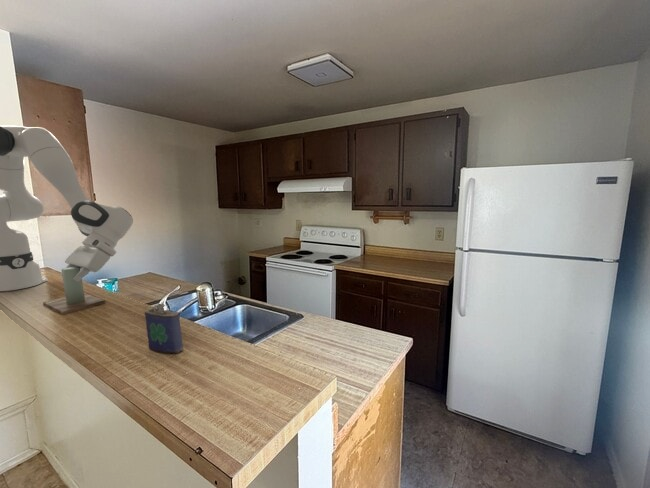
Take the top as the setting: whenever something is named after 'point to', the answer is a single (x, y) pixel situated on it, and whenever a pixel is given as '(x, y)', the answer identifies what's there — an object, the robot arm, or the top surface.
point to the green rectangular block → (72, 286)
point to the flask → (163, 330)
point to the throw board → (64, 308)
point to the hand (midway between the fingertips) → (69, 278)
